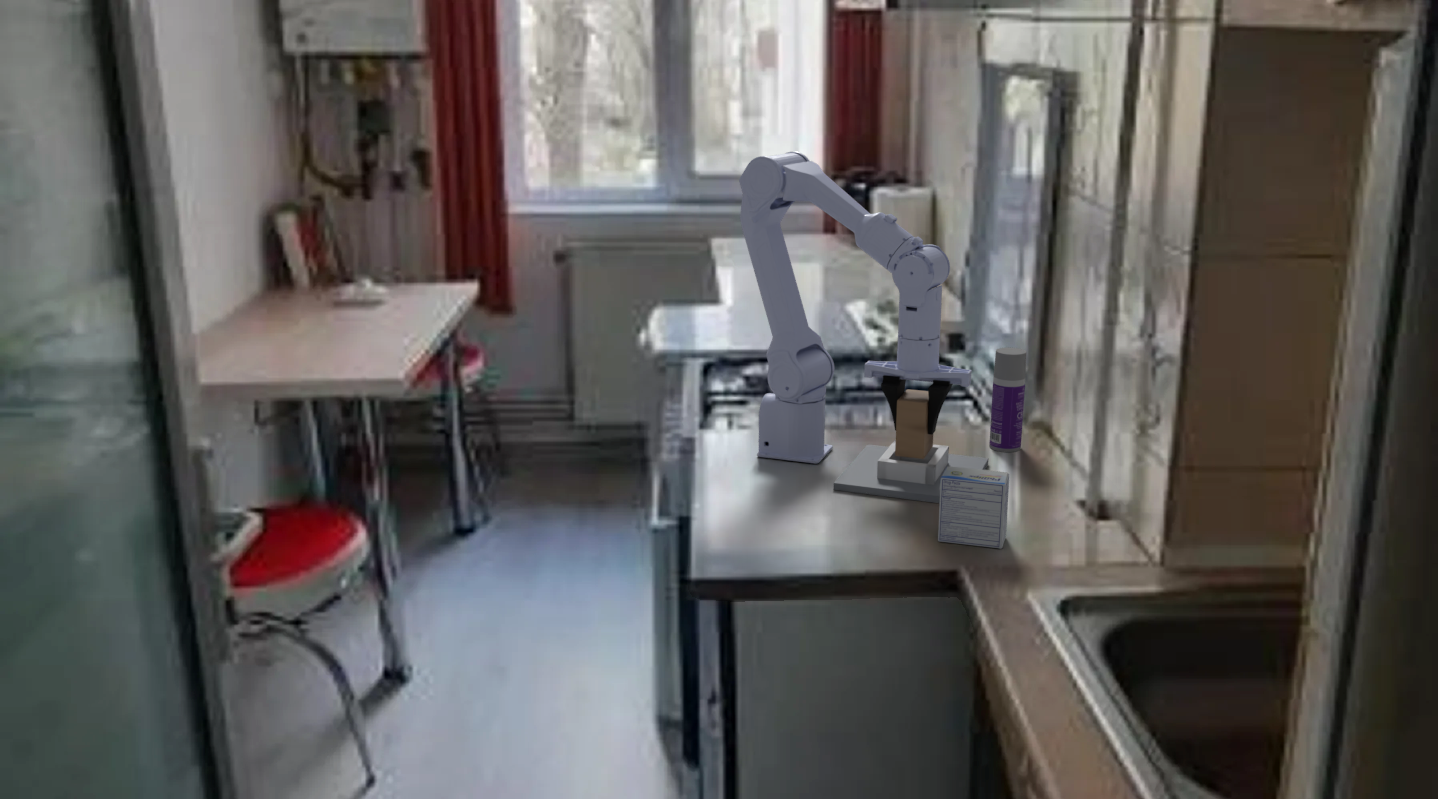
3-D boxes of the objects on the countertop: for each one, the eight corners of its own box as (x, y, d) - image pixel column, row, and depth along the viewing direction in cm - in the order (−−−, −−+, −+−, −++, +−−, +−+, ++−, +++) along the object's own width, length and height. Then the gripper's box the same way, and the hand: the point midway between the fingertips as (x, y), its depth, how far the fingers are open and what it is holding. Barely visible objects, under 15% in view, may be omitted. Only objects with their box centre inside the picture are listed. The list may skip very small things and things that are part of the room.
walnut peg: (905, 443, 181) (907, 389, 179) (932, 446, 180) (935, 391, 178) (895, 455, 176) (897, 400, 174) (923, 459, 175) (926, 403, 172)
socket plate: (833, 489, 174) (834, 465, 173) (867, 450, 190) (868, 428, 189) (964, 506, 168) (965, 481, 167) (988, 464, 184) (989, 441, 183)
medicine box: (1006, 537, 158) (1010, 471, 156) (1002, 550, 154) (1006, 483, 152) (943, 529, 160) (946, 464, 158) (937, 542, 156) (940, 476, 154)
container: (1021, 453, 189) (1027, 355, 185) (989, 451, 190) (994, 354, 186) (1020, 443, 194) (1026, 347, 189) (989, 441, 195) (994, 346, 190)
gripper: (859, 337, 173) (857, 433, 176) (966, 346, 167) (961, 444, 171) (872, 326, 179) (870, 419, 183) (976, 335, 174) (971, 429, 178)
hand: (915, 430), depth 177 cm, fingers closed on walnut peg, 4 cm apart
